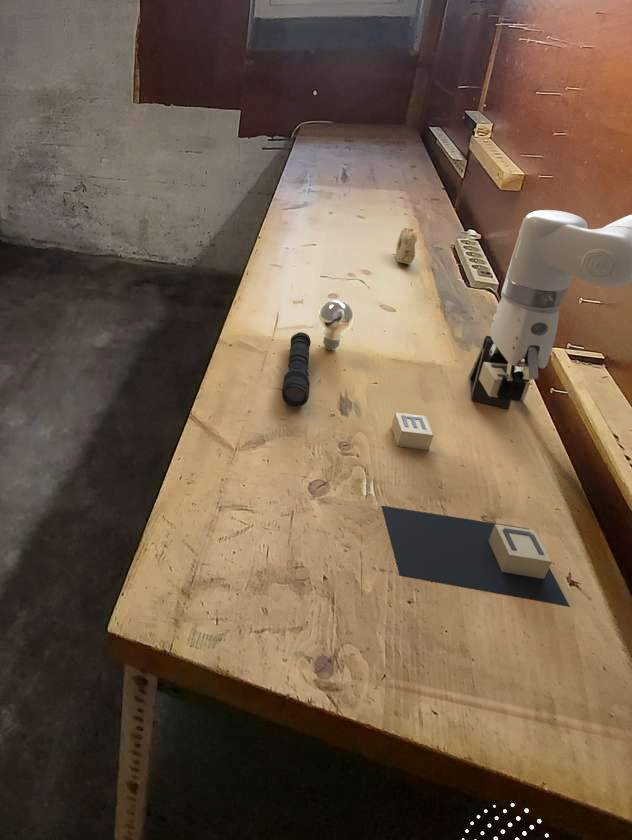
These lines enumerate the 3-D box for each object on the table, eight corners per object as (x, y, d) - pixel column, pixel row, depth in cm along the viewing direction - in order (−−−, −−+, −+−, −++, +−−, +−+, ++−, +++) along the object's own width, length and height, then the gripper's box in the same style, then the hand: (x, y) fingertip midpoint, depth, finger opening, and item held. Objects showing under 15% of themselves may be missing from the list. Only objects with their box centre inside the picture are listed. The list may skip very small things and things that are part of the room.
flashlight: (279, 404, 109) (282, 383, 107) (287, 347, 127) (290, 328, 124) (306, 409, 108) (310, 389, 105) (311, 351, 125) (314, 332, 123)
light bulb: (347, 359, 122) (357, 312, 116) (313, 354, 124) (321, 307, 118) (345, 342, 128) (355, 296, 122) (313, 338, 130) (321, 292, 124)
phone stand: (508, 409, 106) (527, 357, 100) (470, 400, 108) (488, 348, 103) (504, 383, 113) (522, 333, 107) (469, 375, 115) (485, 325, 110)
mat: (528, 530, 82) (529, 528, 82) (569, 608, 72) (570, 606, 72) (380, 507, 87) (381, 505, 87) (399, 577, 77) (399, 575, 76)
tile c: (527, 547, 80) (535, 529, 78) (544, 579, 75) (552, 561, 74) (488, 540, 81) (495, 523, 79) (501, 571, 76) (509, 554, 75)
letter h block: (511, 382, 95) (517, 364, 94) (524, 400, 91) (530, 382, 89) (478, 378, 96) (483, 361, 95) (489, 396, 92) (495, 378, 90)
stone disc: (392, 253, 169) (399, 222, 164) (406, 254, 168) (413, 223, 163) (397, 268, 160) (405, 235, 156) (412, 269, 159) (420, 237, 155)
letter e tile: (421, 430, 102) (425, 415, 100) (429, 450, 97) (433, 434, 96) (391, 427, 103) (395, 411, 101) (397, 446, 98) (401, 430, 97)
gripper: (591, 321, 77) (551, 424, 85) (536, 269, 92) (506, 361, 100) (528, 316, 79) (494, 418, 87) (484, 266, 94) (459, 357, 102)
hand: (501, 387), depth 93 cm, fingers closed on letter h block, 5 cm apart
